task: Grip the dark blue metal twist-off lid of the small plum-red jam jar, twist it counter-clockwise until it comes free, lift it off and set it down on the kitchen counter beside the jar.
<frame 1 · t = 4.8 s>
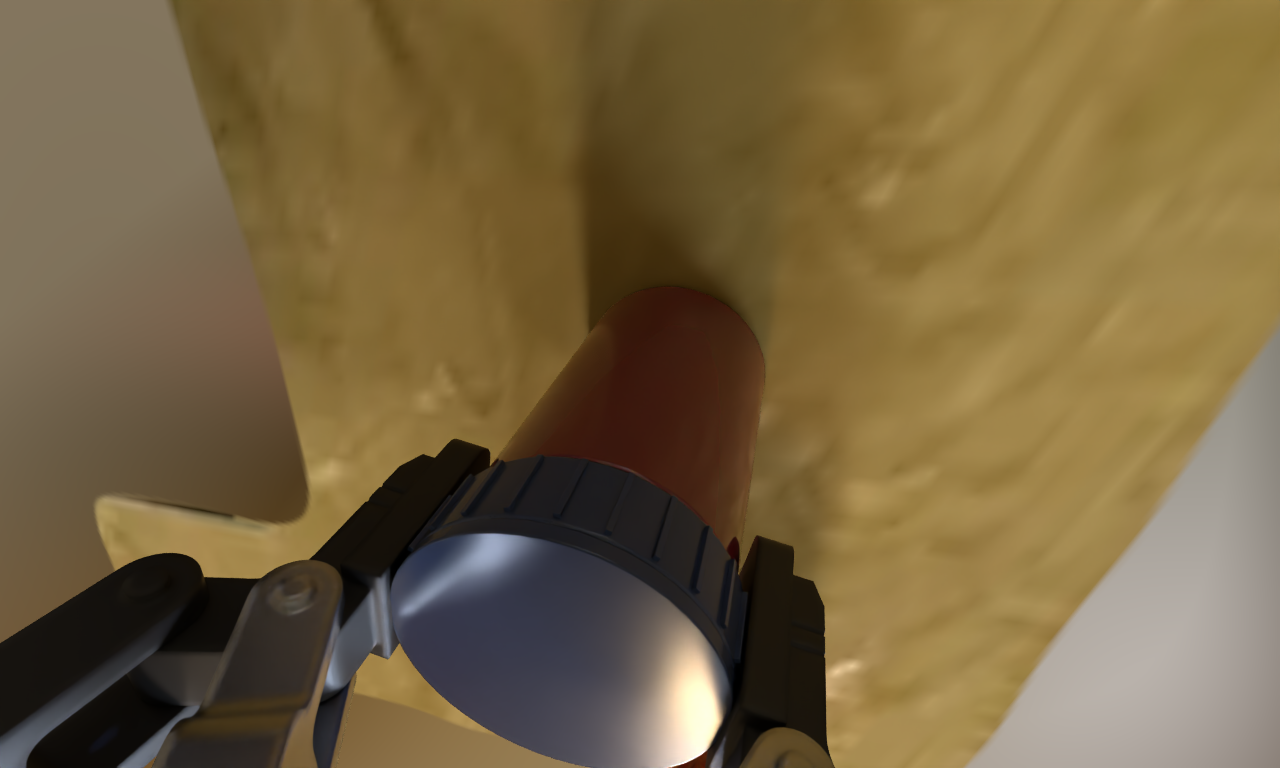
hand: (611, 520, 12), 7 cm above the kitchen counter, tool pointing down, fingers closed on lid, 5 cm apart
jar: (674, 369, 18), on the kitchen counter
lid: (558, 651, 10), point 10 cm above the kitchen counter, screwed on, not yet turned, touching gripper
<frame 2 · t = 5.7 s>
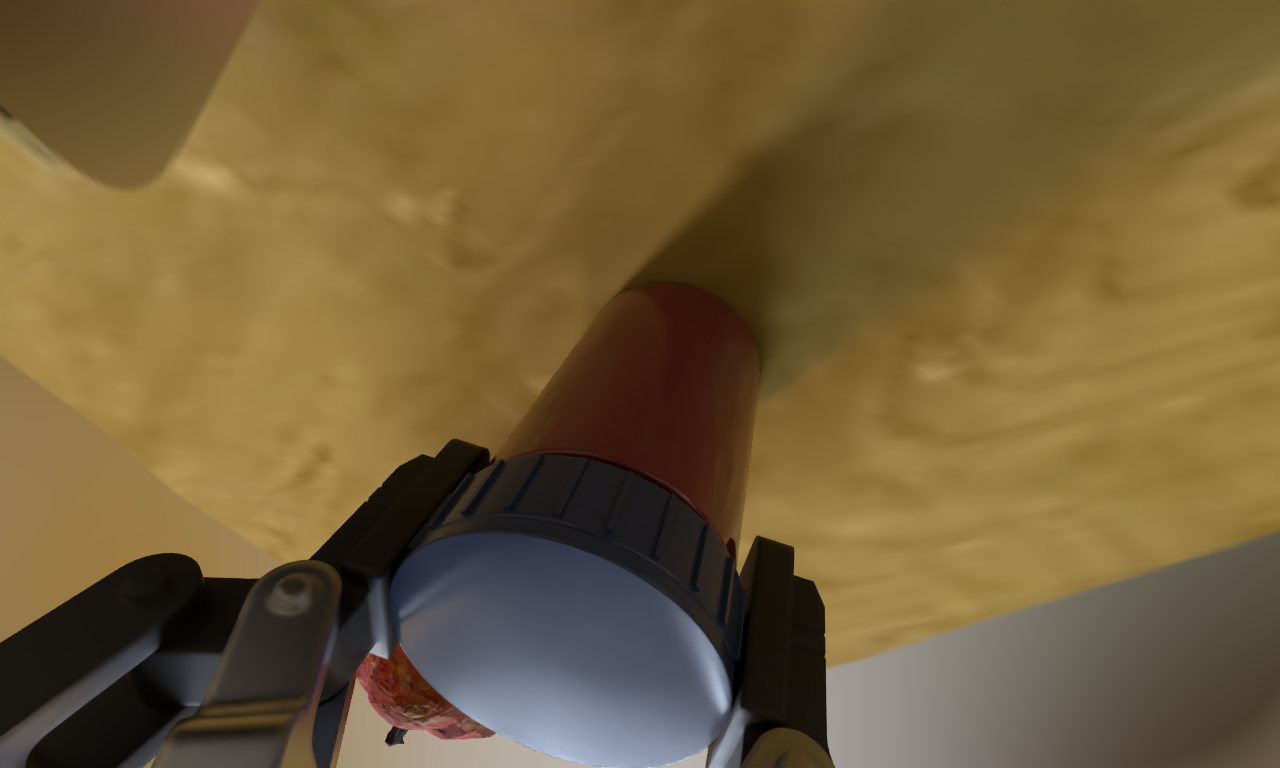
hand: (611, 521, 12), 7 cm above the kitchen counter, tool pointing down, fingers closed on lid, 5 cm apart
pomegranate: (502, 555, 25), on the kitchen counter
jar: (670, 365, 18), on the kitchen counter
lid: (558, 649, 10), point 10 cm above the kitchen counter, turned 43° so far, risen 0.1 cm, still on its thread, touching gripper
when the fingers open (6 cm above the kitchen counter, at t = 7.0 s): lid stays where it is, point 10 cm above the kitchen counter.
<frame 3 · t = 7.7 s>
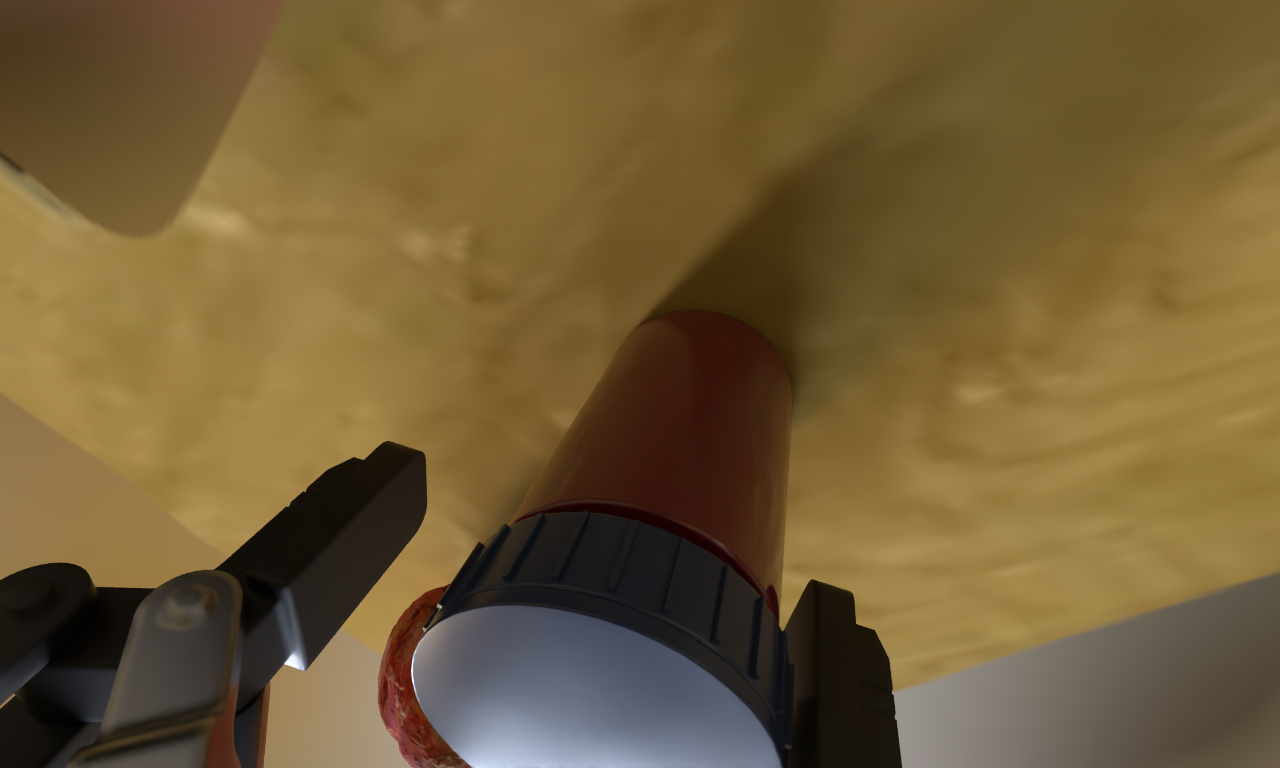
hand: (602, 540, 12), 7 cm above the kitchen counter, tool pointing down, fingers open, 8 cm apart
pomegranate: (529, 590, 24), on the kitchen counter
jar: (698, 394, 17), on the kitchen counter
lid: (591, 720, 9), point 10 cm above the kitchen counter, turned 81° so far, risen 0.2 cm, still on its thread
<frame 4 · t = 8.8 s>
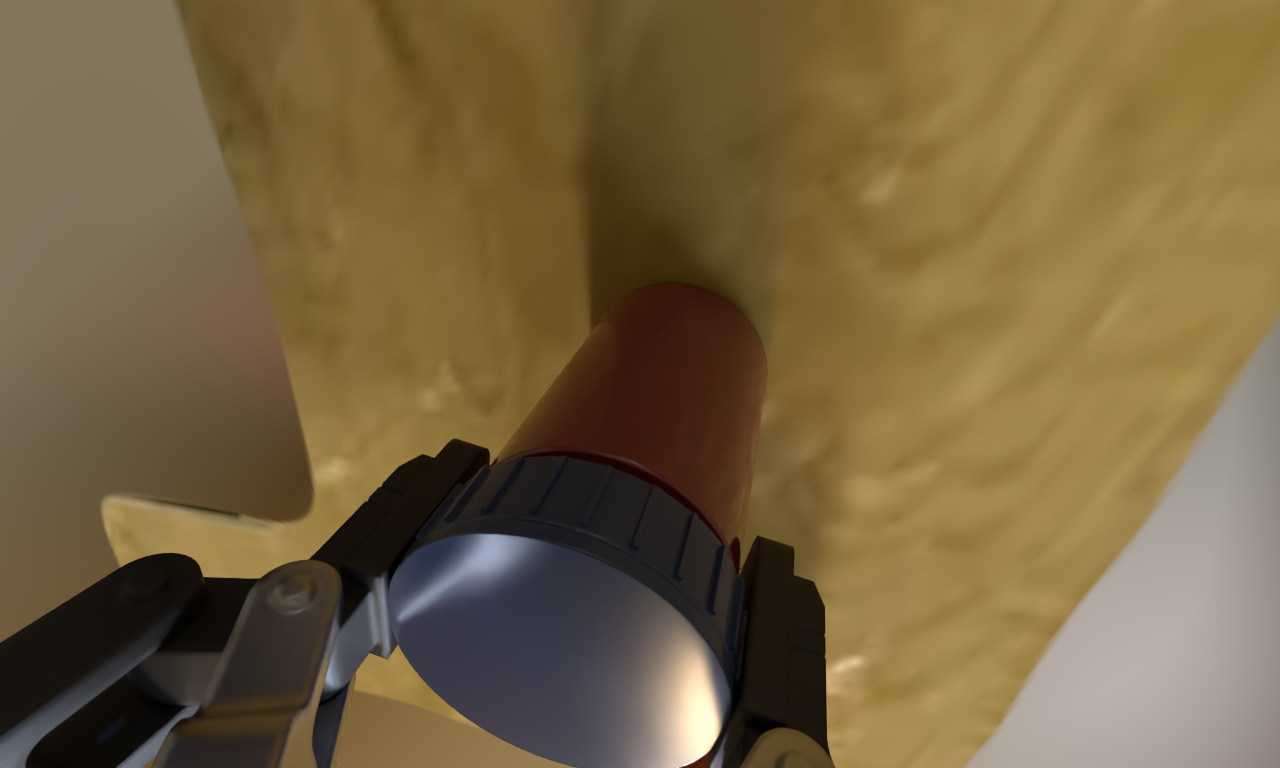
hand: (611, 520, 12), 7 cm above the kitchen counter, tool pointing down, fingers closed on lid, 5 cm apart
jar: (676, 366, 18), on the kitchen counter
lid: (557, 652, 10), point 10 cm above the kitchen counter, turned 81° so far, risen 0.2 cm, still on its thread, touching gripper
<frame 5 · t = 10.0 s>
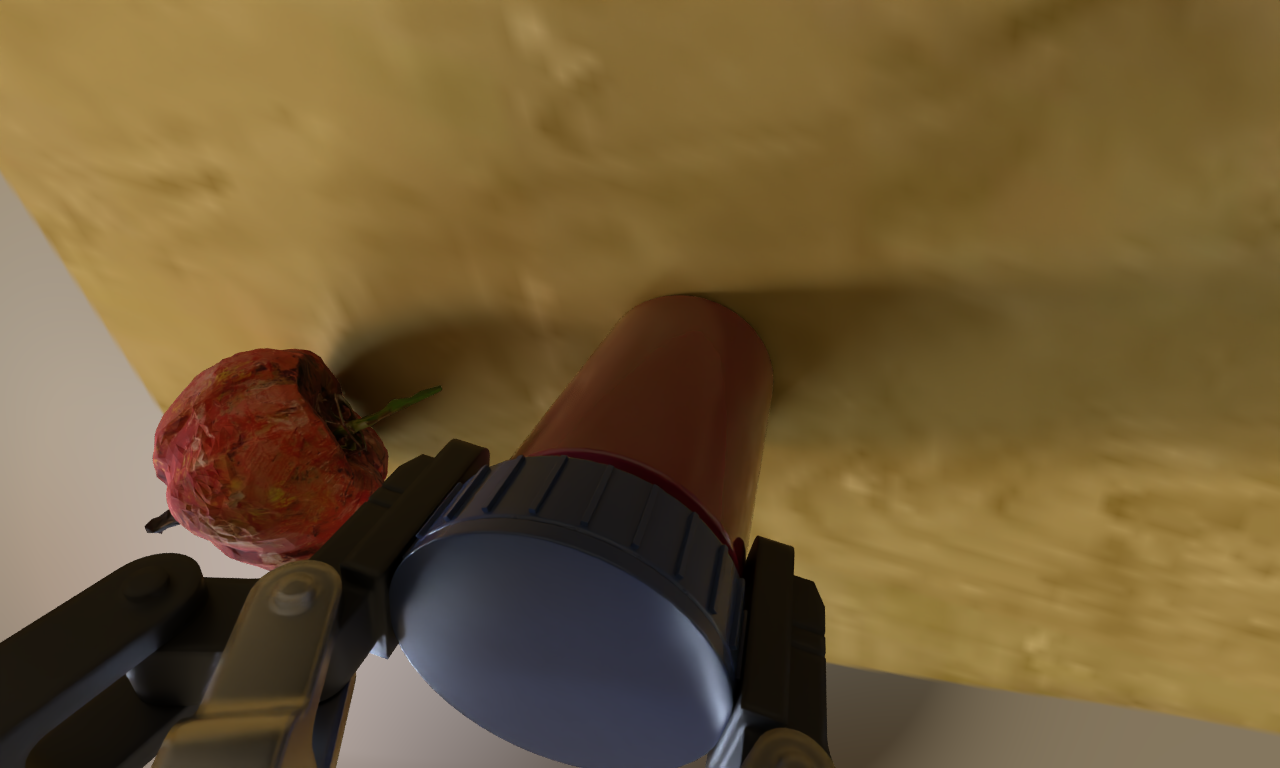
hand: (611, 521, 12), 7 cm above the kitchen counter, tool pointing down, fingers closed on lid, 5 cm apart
pomegranate: (364, 397, 23), on the kitchen counter
jar: (685, 376, 18), on the kitchen counter, touching gripper, lid
lid: (557, 651, 10), point 10 cm above the kitchen counter, off its thread, touching gripper, jar
when the fingers open (0 cm above the kitchen counter, at t = 19.0 s): lid drops 2 cm, point 1 cm above the kitchen counter.
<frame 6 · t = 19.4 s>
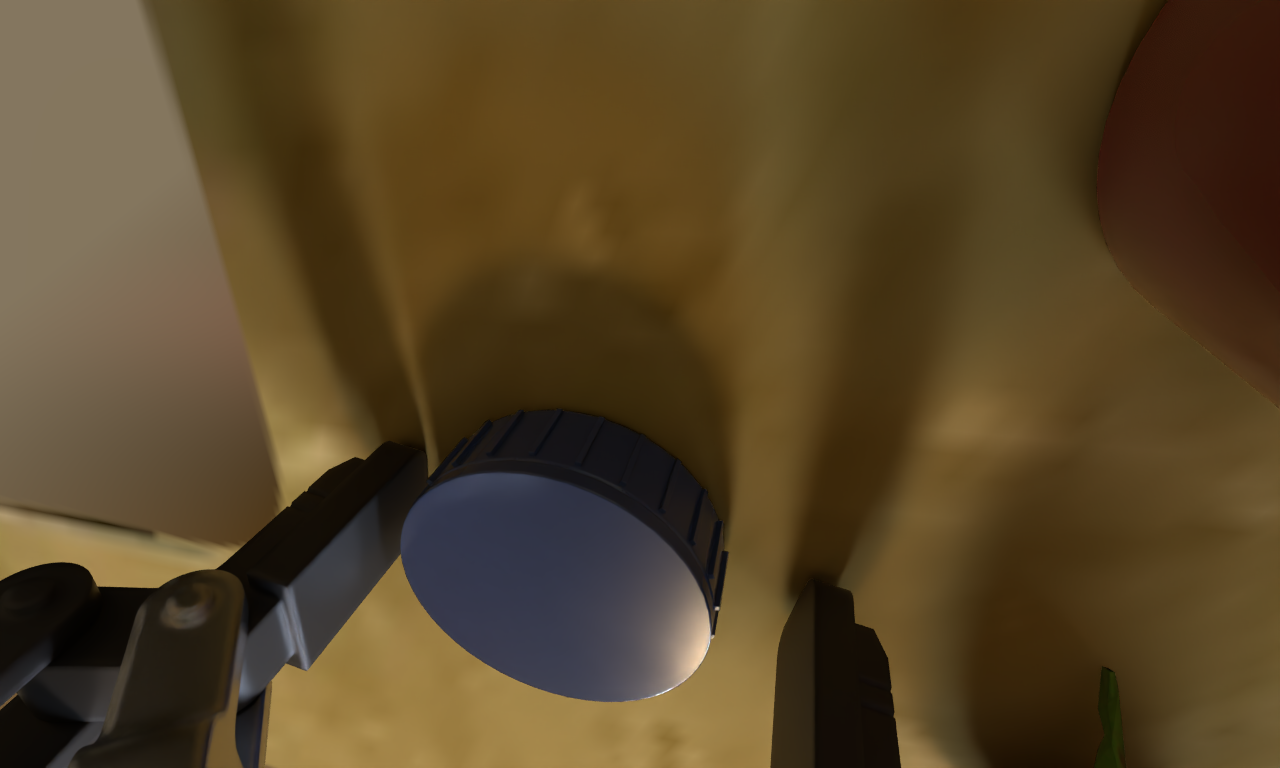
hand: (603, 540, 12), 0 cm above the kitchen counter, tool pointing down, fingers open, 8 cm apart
lid: (554, 587, 11), point 1 cm above the kitchen counter, off its thread
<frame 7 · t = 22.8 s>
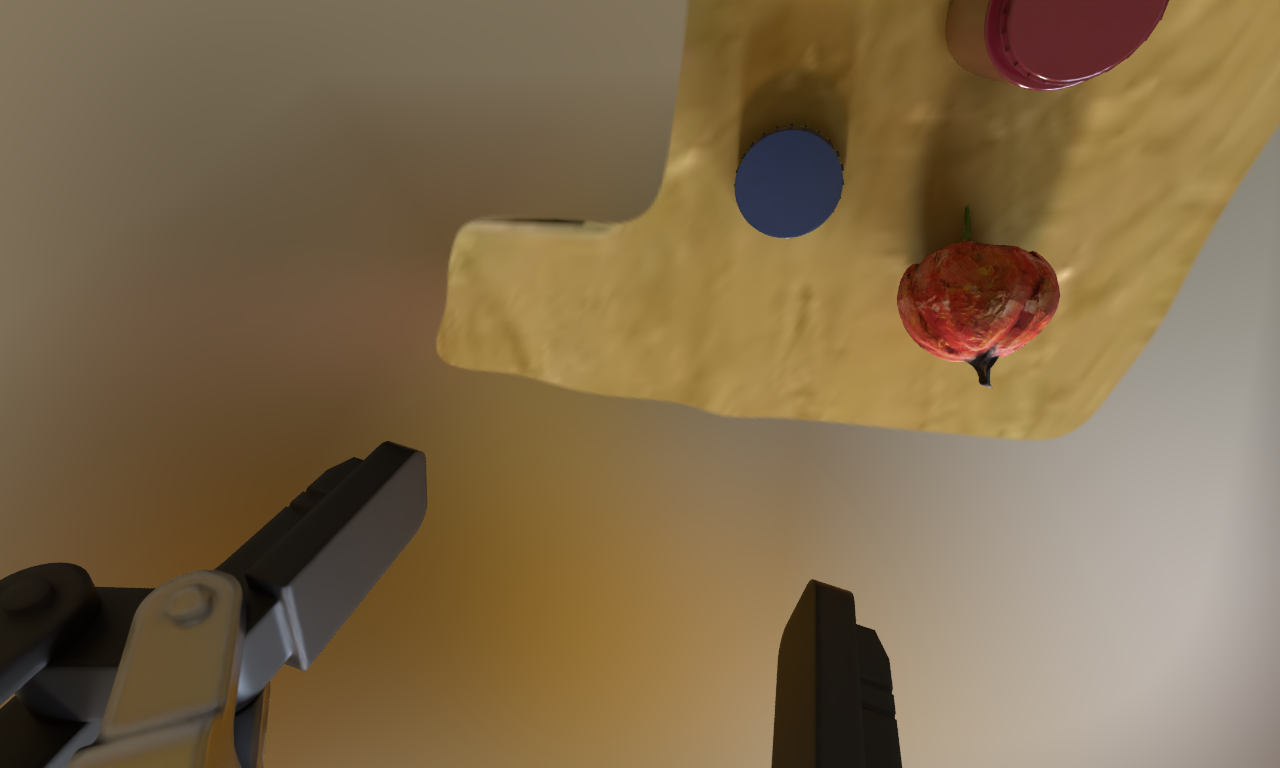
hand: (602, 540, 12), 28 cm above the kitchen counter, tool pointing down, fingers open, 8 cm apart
pomegranate: (958, 272, 34), on the kitchen counter
jar: (1008, 14, 28), on the kitchen counter
lid: (787, 185, 33), point 1 cm above the kitchen counter, off its thread
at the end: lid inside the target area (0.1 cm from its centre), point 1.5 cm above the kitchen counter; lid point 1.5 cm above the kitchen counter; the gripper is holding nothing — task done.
